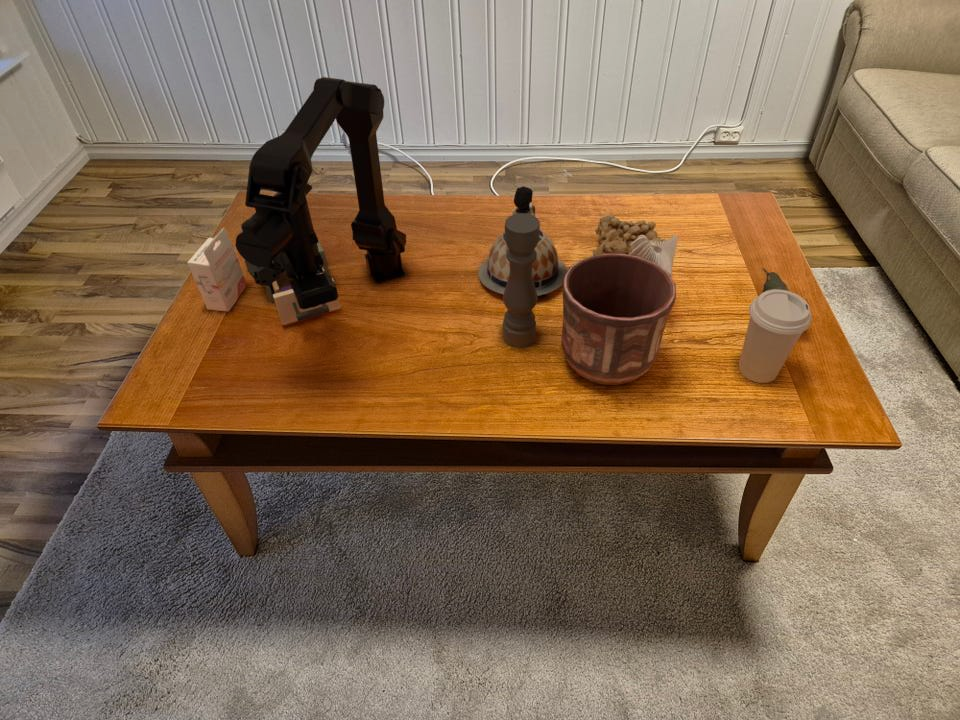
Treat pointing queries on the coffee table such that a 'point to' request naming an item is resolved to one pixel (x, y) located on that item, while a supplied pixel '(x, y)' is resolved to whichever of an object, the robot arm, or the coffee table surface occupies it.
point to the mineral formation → (622, 235)
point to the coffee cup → (772, 333)
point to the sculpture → (774, 282)
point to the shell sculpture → (656, 251)
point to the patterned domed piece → (544, 268)
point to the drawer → (290, 307)
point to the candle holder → (520, 280)
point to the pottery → (614, 316)
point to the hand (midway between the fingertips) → (314, 305)
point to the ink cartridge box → (218, 272)
